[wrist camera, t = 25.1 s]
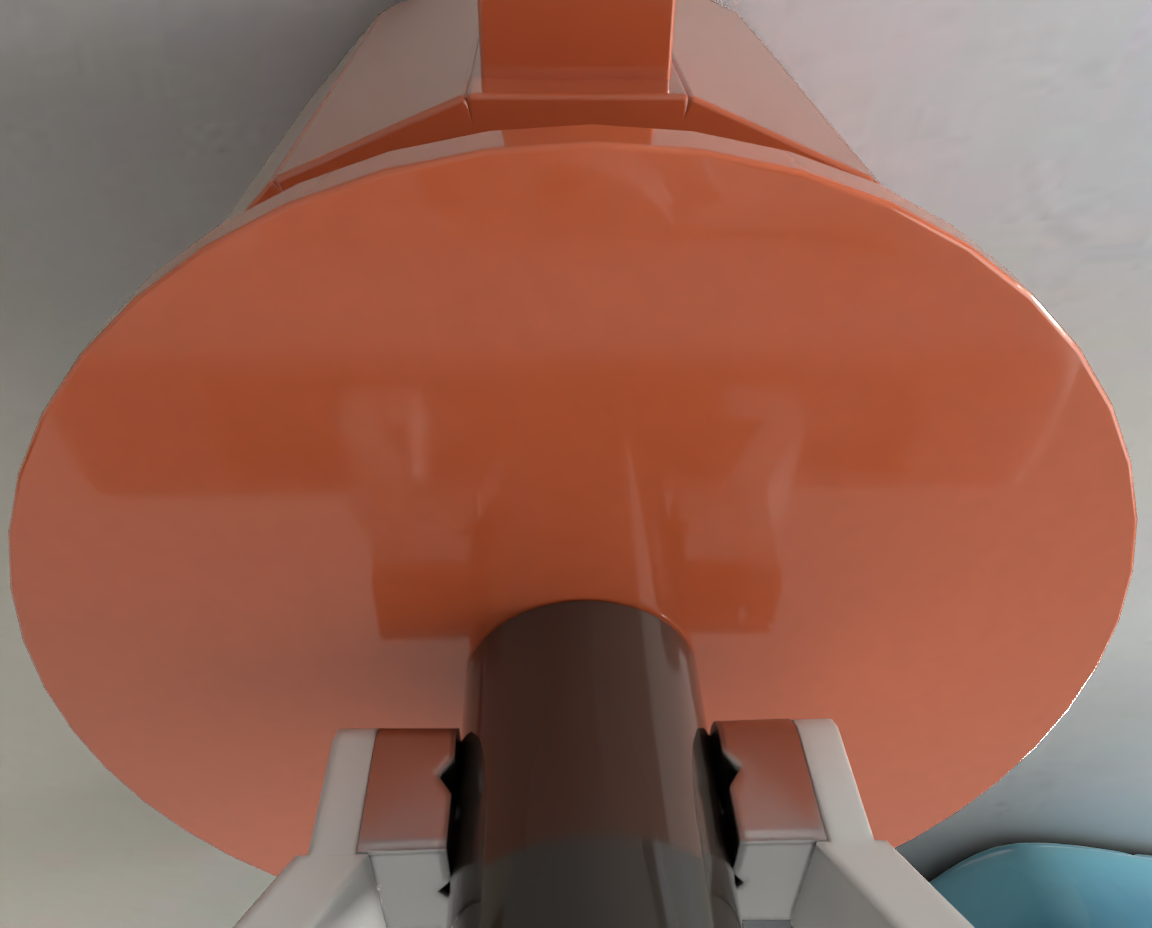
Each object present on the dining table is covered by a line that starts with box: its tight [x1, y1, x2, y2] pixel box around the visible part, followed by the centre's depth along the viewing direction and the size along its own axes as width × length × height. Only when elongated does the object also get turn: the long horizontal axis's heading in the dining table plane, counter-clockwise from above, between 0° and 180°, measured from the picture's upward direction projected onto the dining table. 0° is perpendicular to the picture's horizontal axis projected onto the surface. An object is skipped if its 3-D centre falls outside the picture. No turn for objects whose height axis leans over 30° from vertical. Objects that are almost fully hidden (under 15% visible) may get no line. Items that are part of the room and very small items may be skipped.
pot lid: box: [8, 124, 1137, 928], centre depth 11 cm, size 15×15×6 cm
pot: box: [224, 0, 881, 222], centre depth 19 cm, size 14×19×10 cm
